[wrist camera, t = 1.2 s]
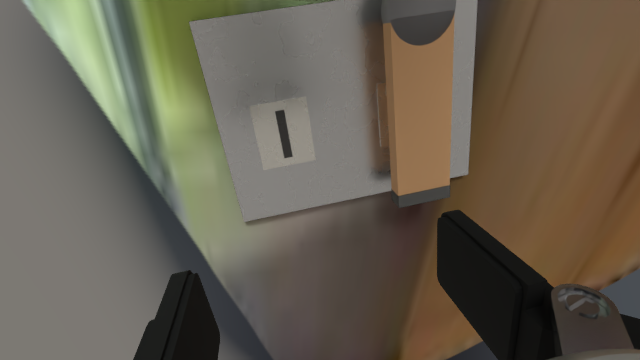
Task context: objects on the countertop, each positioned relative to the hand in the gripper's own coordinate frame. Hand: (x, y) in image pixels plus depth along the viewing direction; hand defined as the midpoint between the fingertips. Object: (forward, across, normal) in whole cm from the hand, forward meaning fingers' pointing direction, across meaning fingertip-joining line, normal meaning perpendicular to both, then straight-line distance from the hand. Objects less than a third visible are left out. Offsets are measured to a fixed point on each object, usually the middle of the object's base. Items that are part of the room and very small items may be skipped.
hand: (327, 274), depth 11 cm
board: (+20, -6, -1) cm, 21 cm away
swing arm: (+17, -11, -2) cm, 21 cm away
